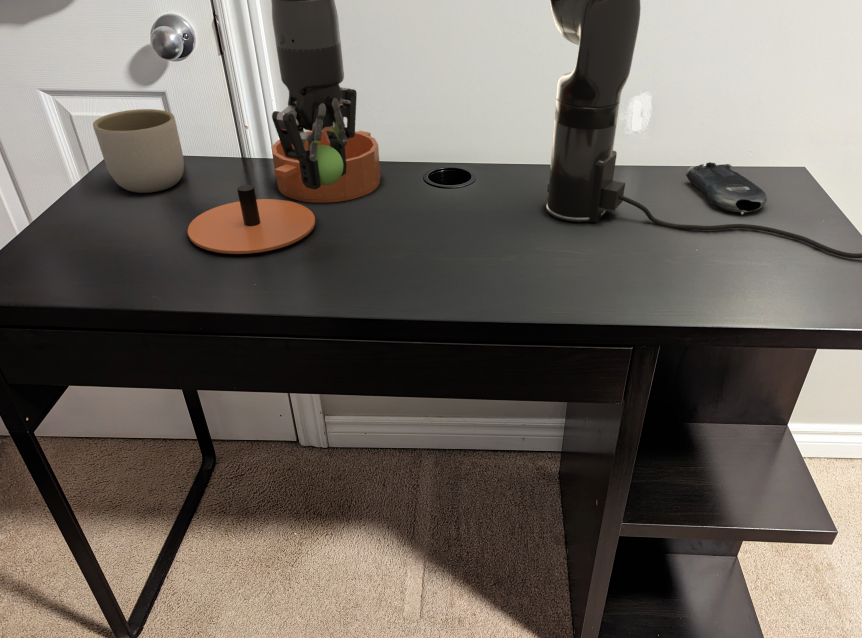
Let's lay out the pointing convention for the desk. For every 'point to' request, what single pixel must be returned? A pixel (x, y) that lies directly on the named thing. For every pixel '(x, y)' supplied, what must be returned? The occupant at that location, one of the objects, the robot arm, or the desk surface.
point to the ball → (329, 164)
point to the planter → (141, 149)
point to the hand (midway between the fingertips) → (326, 180)
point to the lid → (251, 224)
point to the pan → (349, 186)
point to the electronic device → (726, 187)
